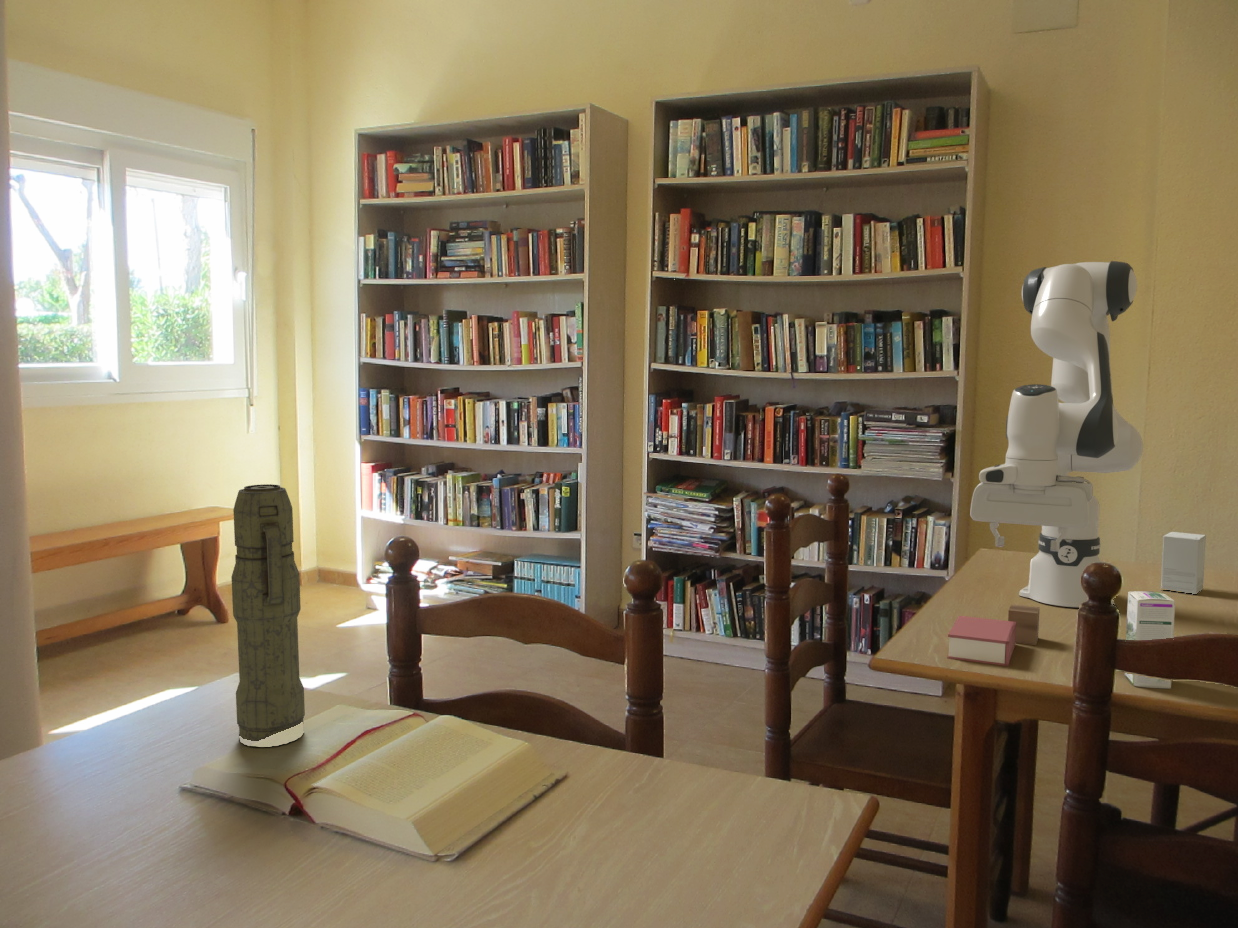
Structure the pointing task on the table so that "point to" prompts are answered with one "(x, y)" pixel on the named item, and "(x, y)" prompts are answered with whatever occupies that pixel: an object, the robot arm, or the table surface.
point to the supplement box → (1183, 562)
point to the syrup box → (1149, 626)
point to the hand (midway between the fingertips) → (1026, 548)
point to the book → (982, 640)
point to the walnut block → (1025, 623)
